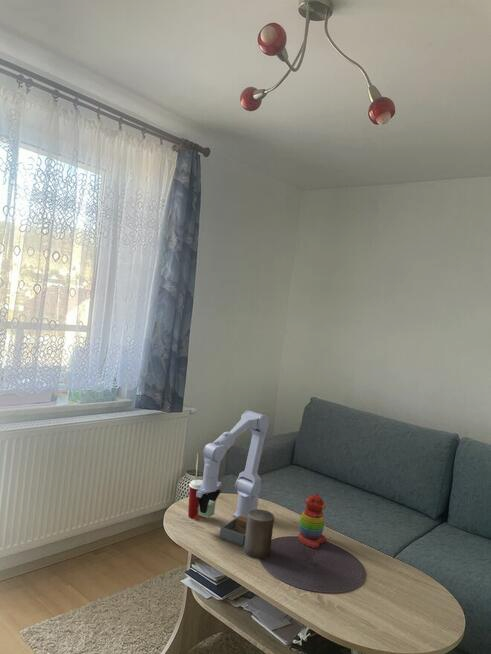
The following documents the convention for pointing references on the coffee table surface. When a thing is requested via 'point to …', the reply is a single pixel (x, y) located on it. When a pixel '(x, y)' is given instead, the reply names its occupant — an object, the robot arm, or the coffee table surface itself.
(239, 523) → the walnut block
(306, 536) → the stacking bear
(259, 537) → the pillar candle
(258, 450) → the robot arm
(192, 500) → the paper cup
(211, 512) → the sage block
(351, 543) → the coffee table surface
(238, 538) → the tray
